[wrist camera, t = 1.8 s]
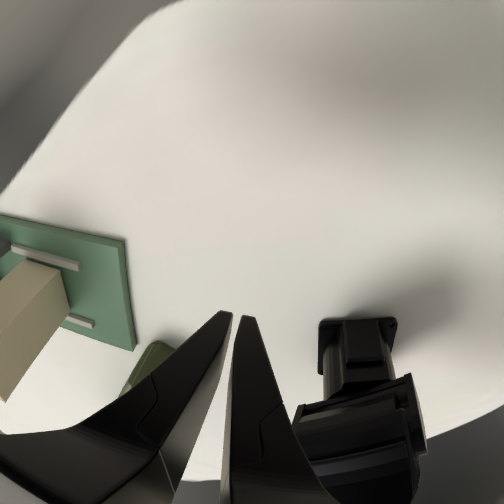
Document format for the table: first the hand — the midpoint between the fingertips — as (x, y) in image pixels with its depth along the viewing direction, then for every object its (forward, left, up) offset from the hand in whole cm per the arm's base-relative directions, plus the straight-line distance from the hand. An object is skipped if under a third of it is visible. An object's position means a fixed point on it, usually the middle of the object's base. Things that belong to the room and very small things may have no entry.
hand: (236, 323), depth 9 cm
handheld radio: (-24, +19, -12) cm, 33 cm away
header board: (-6, +23, -12) cm, 27 cm away
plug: (-6, +22, -11) cm, 25 cm away
